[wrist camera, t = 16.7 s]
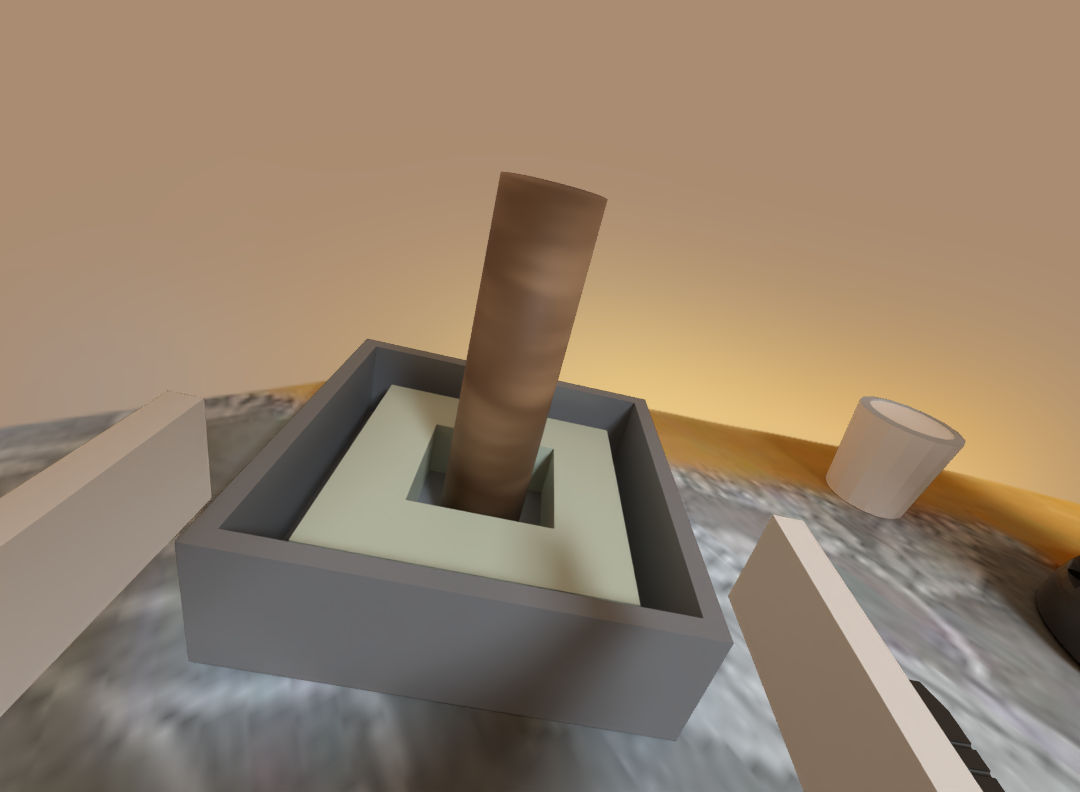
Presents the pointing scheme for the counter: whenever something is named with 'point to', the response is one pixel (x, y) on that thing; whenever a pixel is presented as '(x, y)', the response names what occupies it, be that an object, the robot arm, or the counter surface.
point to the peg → (518, 340)
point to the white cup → (890, 456)
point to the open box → (458, 559)
